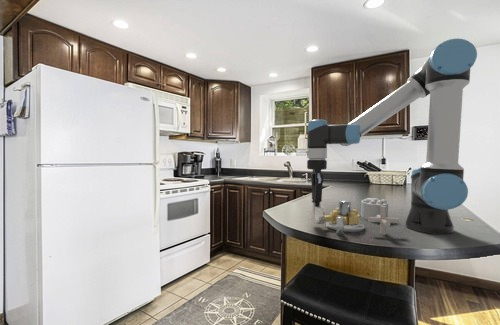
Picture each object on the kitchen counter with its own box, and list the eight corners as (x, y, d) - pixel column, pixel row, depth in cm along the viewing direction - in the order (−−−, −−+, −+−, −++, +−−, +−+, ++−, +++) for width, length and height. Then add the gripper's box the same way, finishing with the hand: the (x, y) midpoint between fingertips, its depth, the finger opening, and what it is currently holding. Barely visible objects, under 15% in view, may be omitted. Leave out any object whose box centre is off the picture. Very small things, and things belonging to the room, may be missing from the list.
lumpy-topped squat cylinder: (382, 215, 121) (382, 197, 121) (392, 222, 108) (392, 202, 108) (359, 214, 123) (359, 196, 123) (366, 221, 110) (366, 201, 110)
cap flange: (363, 224, 105) (363, 200, 104) (364, 233, 92) (364, 205, 91) (327, 221, 110) (328, 197, 110) (324, 229, 97) (324, 203, 97)
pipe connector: (403, 239, 85) (404, 209, 85) (371, 237, 87) (371, 208, 87) (393, 231, 95) (393, 204, 95) (364, 229, 97) (364, 203, 97)
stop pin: (343, 233, 92) (343, 216, 92) (343, 235, 90) (343, 218, 89) (336, 232, 93) (336, 216, 93) (336, 234, 90) (336, 217, 90)
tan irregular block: (347, 217, 107) (348, 202, 107) (365, 223, 97) (365, 207, 97) (308, 219, 103) (308, 204, 103) (322, 226, 92) (323, 210, 92)
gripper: (305, 159, 108) (304, 214, 109) (309, 159, 95) (309, 222, 96) (323, 159, 108) (322, 214, 108) (330, 159, 95) (329, 222, 96)
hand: (316, 218), depth 102 cm, fingers closed
